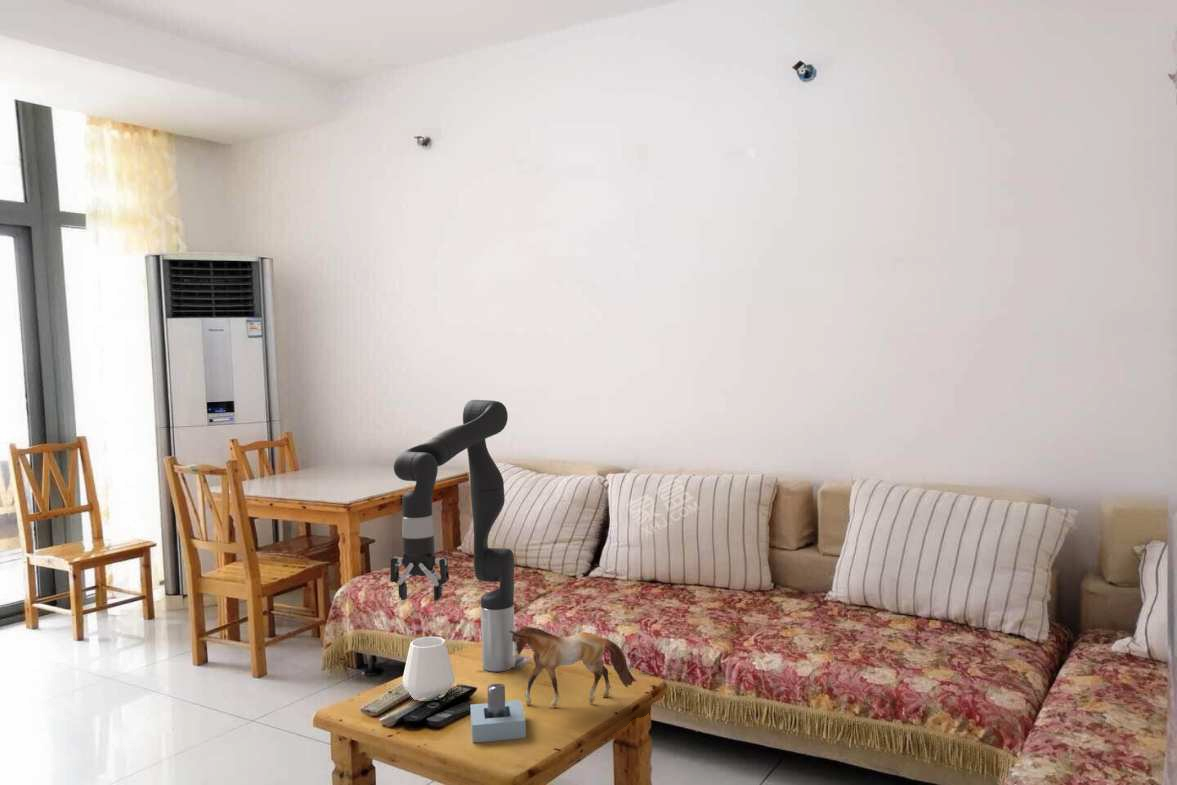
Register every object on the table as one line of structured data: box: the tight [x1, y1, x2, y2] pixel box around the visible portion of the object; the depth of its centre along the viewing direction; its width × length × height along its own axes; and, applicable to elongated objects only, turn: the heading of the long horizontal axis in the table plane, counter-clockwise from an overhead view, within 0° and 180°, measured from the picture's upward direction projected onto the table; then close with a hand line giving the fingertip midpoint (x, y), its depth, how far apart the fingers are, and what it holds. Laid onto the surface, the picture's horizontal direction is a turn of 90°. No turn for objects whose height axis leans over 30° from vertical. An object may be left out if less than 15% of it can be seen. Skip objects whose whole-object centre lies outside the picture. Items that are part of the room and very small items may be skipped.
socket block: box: [470, 699, 527, 743], centre depth 202 cm, size 12×12×4 cm
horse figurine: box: [509, 626, 637, 708], centre depth 216 cm, size 31×8×21 cm, turn 100°
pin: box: [486, 683, 506, 718], centre depth 202 cm, size 4×4×10 cm
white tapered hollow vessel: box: [402, 636, 456, 701], centre depth 224 cm, size 13×13×14 cm
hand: (420, 599), depth 212 cm, fingers open, 8 cm apart
